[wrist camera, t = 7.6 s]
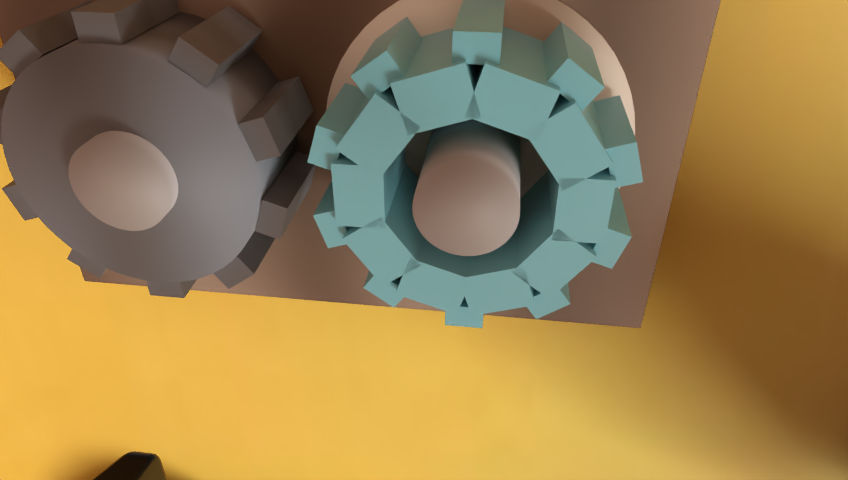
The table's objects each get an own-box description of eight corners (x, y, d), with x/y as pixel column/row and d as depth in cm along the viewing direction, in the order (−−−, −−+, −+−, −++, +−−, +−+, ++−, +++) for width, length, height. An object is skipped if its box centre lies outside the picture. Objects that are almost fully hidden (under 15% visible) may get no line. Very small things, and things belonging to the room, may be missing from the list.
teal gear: (647, 2, 14) (675, 42, 11) (598, 270, 18) (611, 344, 15) (329, -7, 15) (289, 27, 12) (348, 252, 18) (321, 319, 16)
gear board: (725, -112, 14) (813, -83, 10) (633, 296, 20) (662, 422, 16) (-7, -124, 16) (-200, -104, 11) (110, 254, 22) (11, 357, 17)
